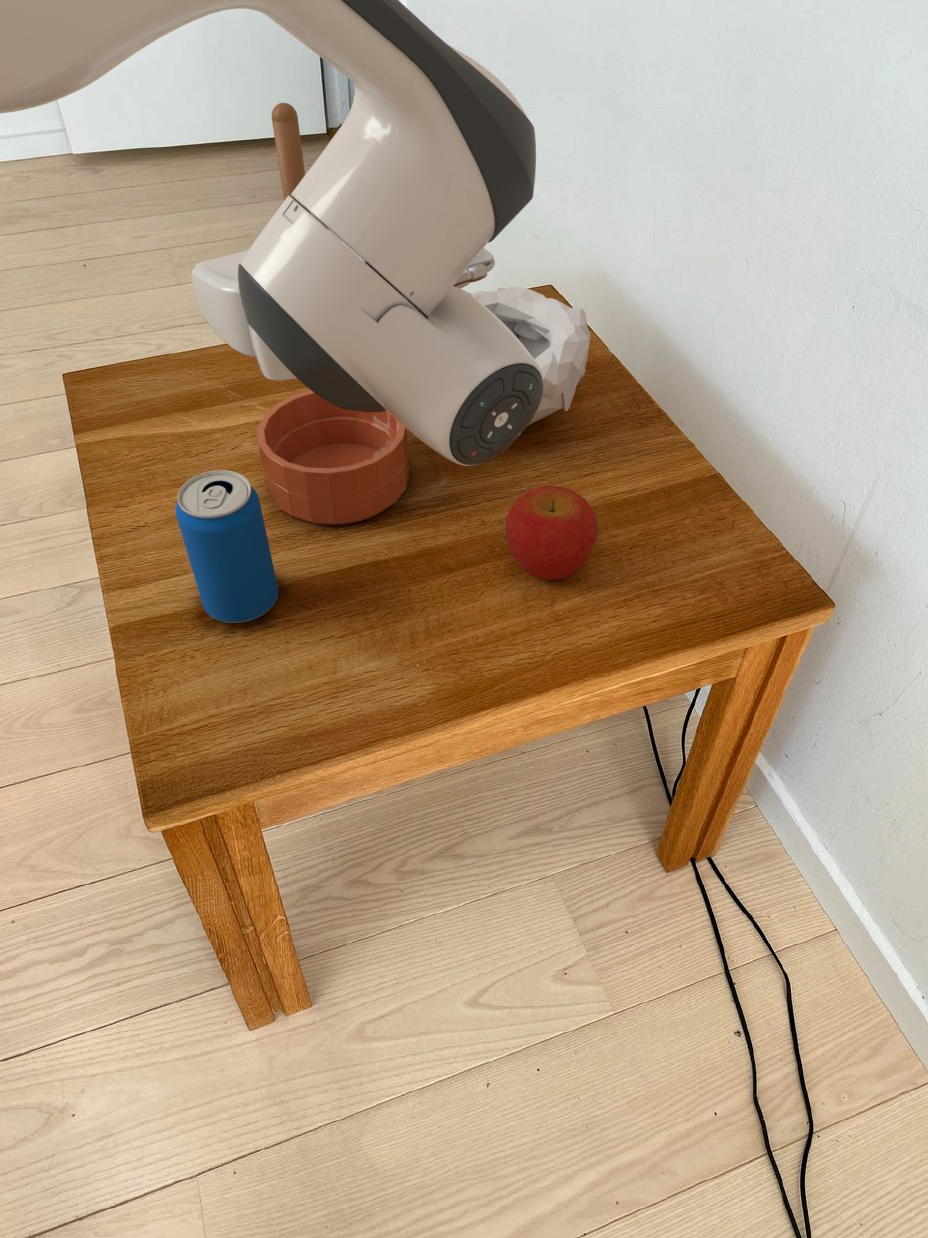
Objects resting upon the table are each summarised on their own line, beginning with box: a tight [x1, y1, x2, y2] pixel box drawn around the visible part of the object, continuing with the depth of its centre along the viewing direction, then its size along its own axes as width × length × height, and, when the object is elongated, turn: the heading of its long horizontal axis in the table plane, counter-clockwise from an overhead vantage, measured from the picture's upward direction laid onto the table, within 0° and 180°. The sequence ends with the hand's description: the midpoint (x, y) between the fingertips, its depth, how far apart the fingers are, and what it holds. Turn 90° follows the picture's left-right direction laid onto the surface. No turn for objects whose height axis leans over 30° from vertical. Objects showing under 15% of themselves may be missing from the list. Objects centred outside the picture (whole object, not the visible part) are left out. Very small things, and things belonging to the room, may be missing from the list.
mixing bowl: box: [256, 389, 410, 526], centre depth 89 cm, size 14×14×6 cm
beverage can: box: [174, 469, 279, 624], centre depth 76 cm, size 6×6×12 cm
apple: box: [505, 485, 599, 580], centre depth 80 cm, size 8×8×8 cm
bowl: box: [467, 286, 592, 427], centre depth 97 cm, size 21×20×10 cm
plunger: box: [271, 102, 311, 214], centre depth 71 cm, size 6×6×20 cm
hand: (296, 230), depth 71 cm, fingers closed on plunger
